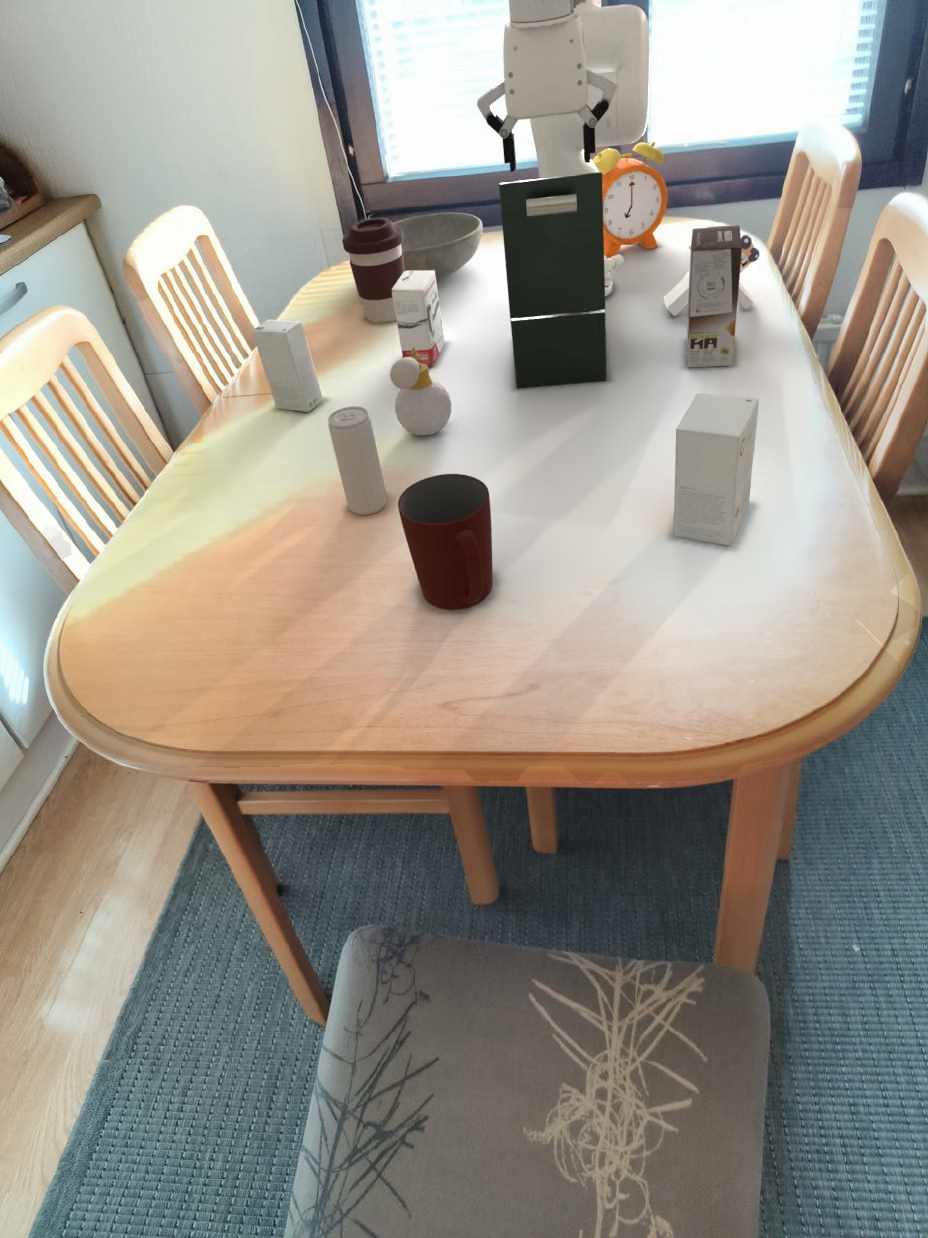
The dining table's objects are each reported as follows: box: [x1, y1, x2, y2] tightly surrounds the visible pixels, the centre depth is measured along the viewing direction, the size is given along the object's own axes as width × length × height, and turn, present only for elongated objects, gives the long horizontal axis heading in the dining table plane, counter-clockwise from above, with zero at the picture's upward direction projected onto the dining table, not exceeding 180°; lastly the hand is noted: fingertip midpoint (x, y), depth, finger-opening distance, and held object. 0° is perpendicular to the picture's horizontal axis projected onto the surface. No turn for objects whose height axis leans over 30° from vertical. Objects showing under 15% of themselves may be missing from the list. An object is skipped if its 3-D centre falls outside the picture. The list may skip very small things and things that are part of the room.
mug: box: [397, 473, 494, 610], centre depth 88 cm, size 12×9×11 cm
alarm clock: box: [591, 133, 669, 258], centre depth 156 cm, size 13×6×20 cm, turn 103°
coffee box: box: [686, 224, 742, 368], centre depth 121 cm, size 9×6×16 cm
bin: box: [510, 309, 607, 389], centre depth 127 cm, size 16×13×10 cm
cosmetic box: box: [251, 318, 324, 413], centre depth 126 cm, size 6×4×12 cm
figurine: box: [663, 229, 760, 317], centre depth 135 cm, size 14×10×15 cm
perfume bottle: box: [389, 347, 452, 436], centre depth 114 cm, size 8×10×12 cm
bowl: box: [392, 212, 484, 280], centre depth 162 cm, size 21×21×8 cm
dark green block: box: [498, 172, 606, 319], centre depth 112 cm, size 16×13×5 cm
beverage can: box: [327, 405, 388, 516], centre depth 103 cm, size 5×5×12 cm
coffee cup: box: [341, 217, 405, 324], centre depth 147 cm, size 10×10×15 cm
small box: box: [672, 391, 760, 547], centre depth 92 cm, size 8×6×13 cm
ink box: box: [392, 270, 446, 367], centre depth 134 cm, size 9×5×12 cm, turn 168°
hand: (550, 164), depth 115 cm, fingers open, 9 cm apart
